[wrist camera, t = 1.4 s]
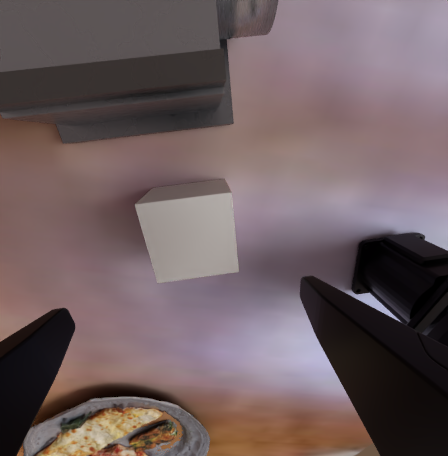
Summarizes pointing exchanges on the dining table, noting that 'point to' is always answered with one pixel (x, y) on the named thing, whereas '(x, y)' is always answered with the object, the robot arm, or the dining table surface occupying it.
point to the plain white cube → (189, 230)
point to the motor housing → (122, 63)
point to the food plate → (117, 430)
